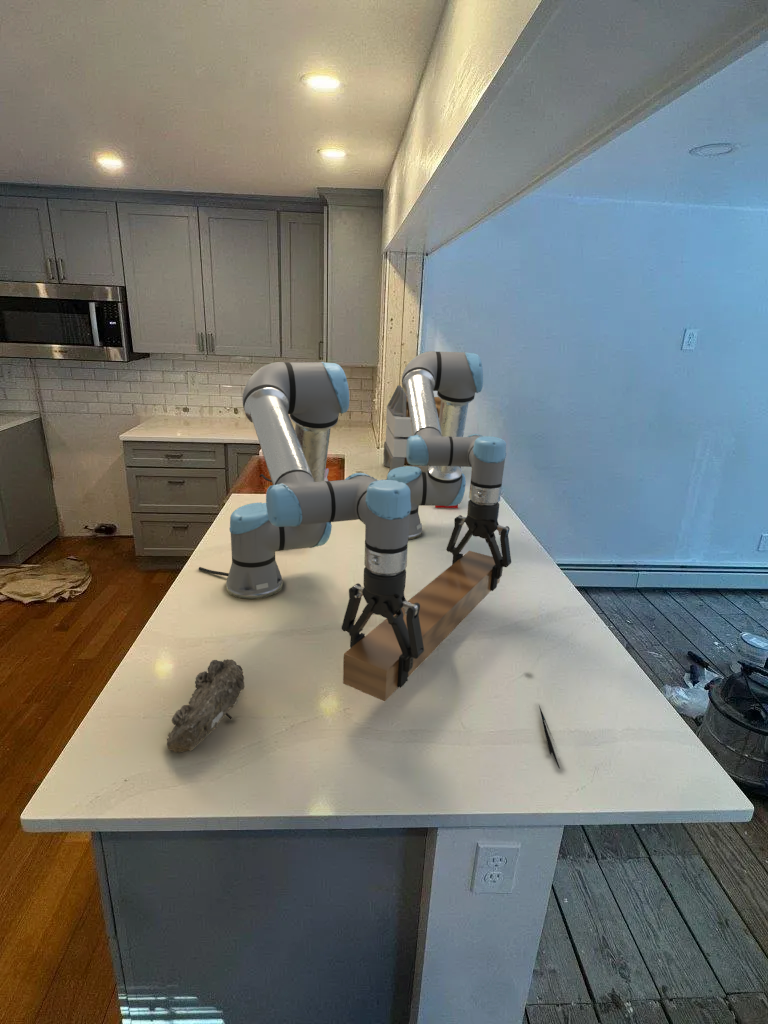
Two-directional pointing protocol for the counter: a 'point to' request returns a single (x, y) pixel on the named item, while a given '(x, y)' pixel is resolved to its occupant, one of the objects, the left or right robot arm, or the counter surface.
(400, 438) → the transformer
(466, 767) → the counter surface
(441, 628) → the wooden beam
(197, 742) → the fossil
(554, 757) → the feather
